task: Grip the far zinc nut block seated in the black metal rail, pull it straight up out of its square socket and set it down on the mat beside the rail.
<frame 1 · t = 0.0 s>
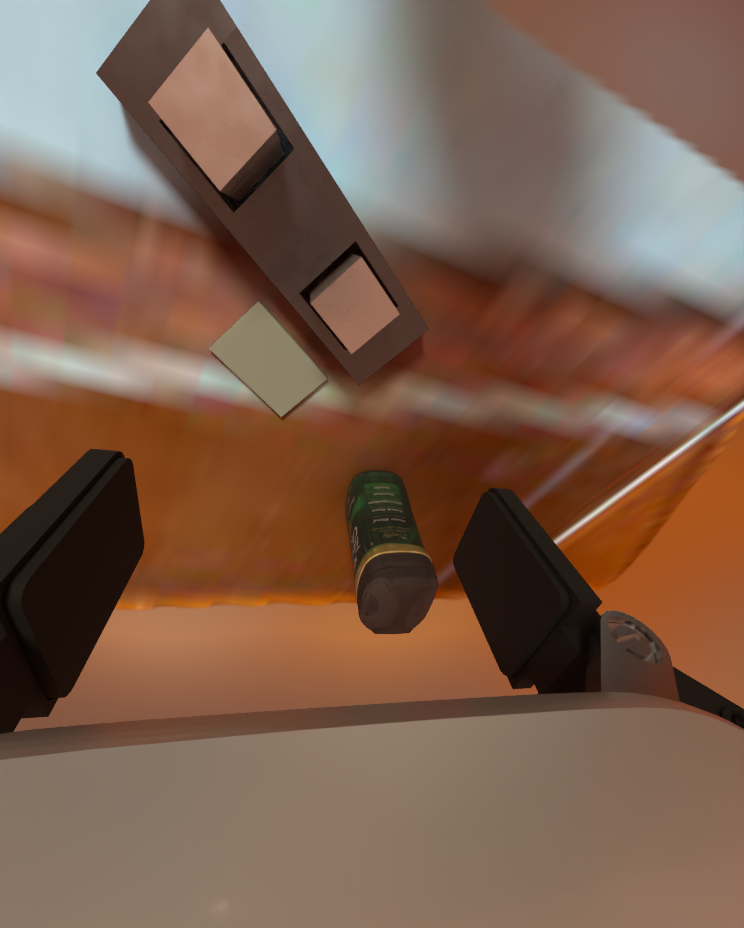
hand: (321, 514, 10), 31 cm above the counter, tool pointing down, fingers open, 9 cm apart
nut b: (347, 295, 35), resting in rail
nut a: (236, 144, 28), resting in rail
coffee jar: (372, 495, 50), on the counter
mat: (271, 362, 38), on the counter
rail: (297, 228, 32), on the counter
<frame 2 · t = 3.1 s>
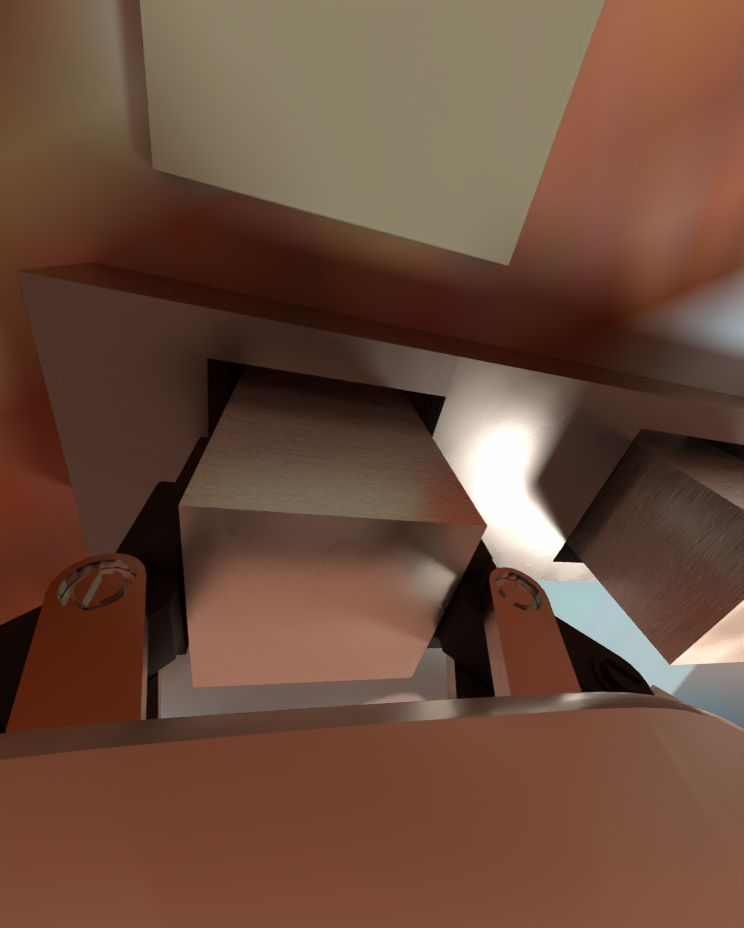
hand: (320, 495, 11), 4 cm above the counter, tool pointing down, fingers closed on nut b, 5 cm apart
nut b: (317, 433, 14), resting in rail, touching gripper
nut a: (604, 468, 17), resting in rail
mat: (376, 54, 9), on the counter
rail: (477, 453, 16), on the counter
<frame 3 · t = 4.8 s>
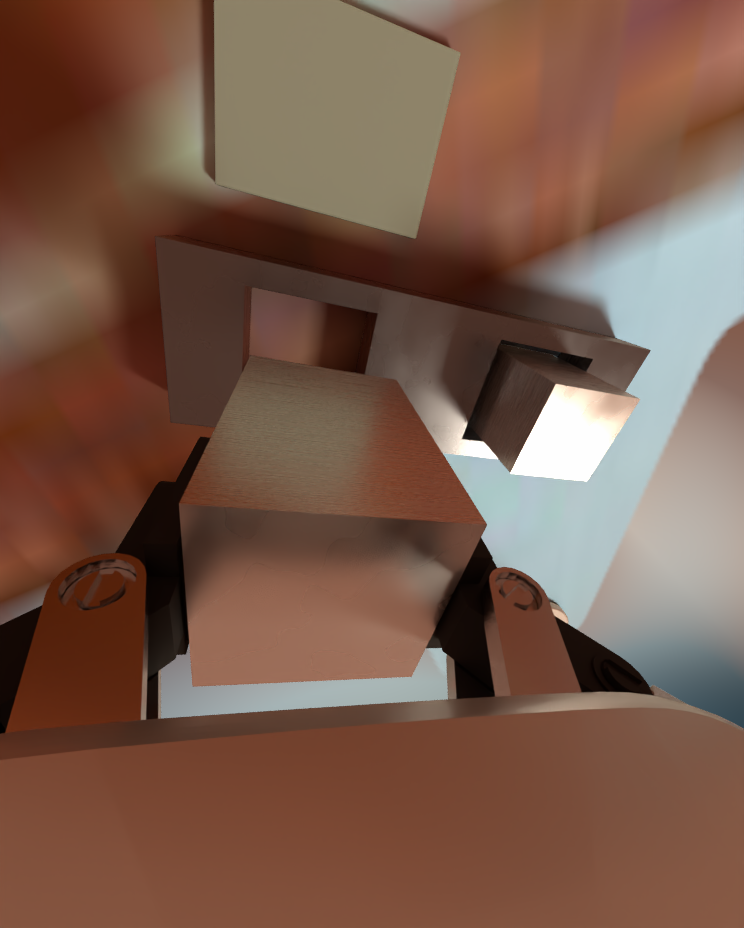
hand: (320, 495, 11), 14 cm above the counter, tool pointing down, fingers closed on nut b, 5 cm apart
nut b: (317, 432, 14), point 10 cm above the counter, touching gripper
nut a: (502, 383, 25), resting in rail
mat: (333, 123, 16), on the counter
rail: (411, 367, 24), on the counter
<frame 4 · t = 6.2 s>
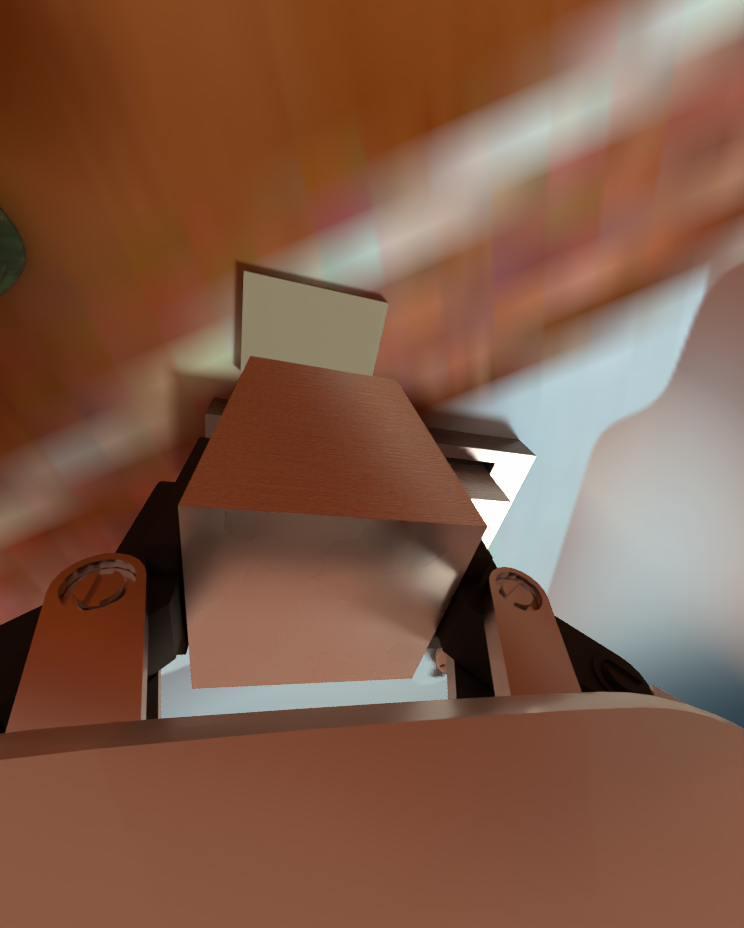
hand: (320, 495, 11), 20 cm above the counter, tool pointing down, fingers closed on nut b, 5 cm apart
nut b: (317, 433, 14), point 16 cm above the counter, touching gripper
nut a: (439, 471, 35), resting in rail
mat: (313, 337, 27), on the counter
rail: (372, 464, 34), on the counter
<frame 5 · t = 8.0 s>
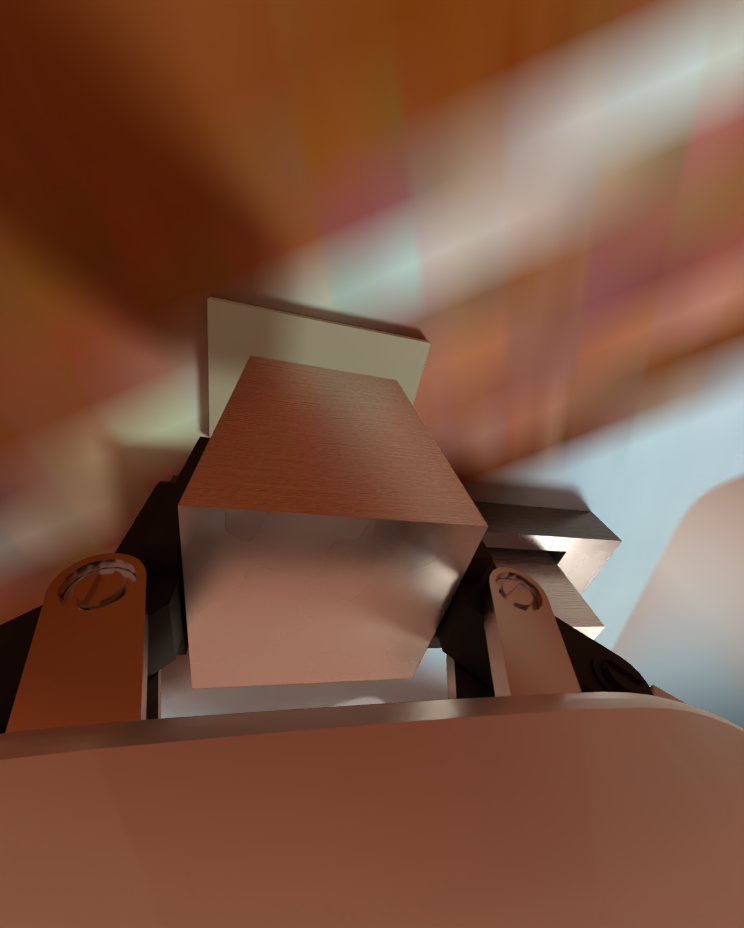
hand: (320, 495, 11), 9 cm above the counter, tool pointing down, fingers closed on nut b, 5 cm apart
nut b: (317, 433, 14), point 5 cm above the counter, touching gripper
nut a: (484, 551, 27), resting in rail
mat: (316, 391, 18), on the counter
rail: (396, 547, 25), on the counter
when the fingers open (6 cm above the counter, at t = 9.5 s): nut b drops 1 cm, resting on mat.
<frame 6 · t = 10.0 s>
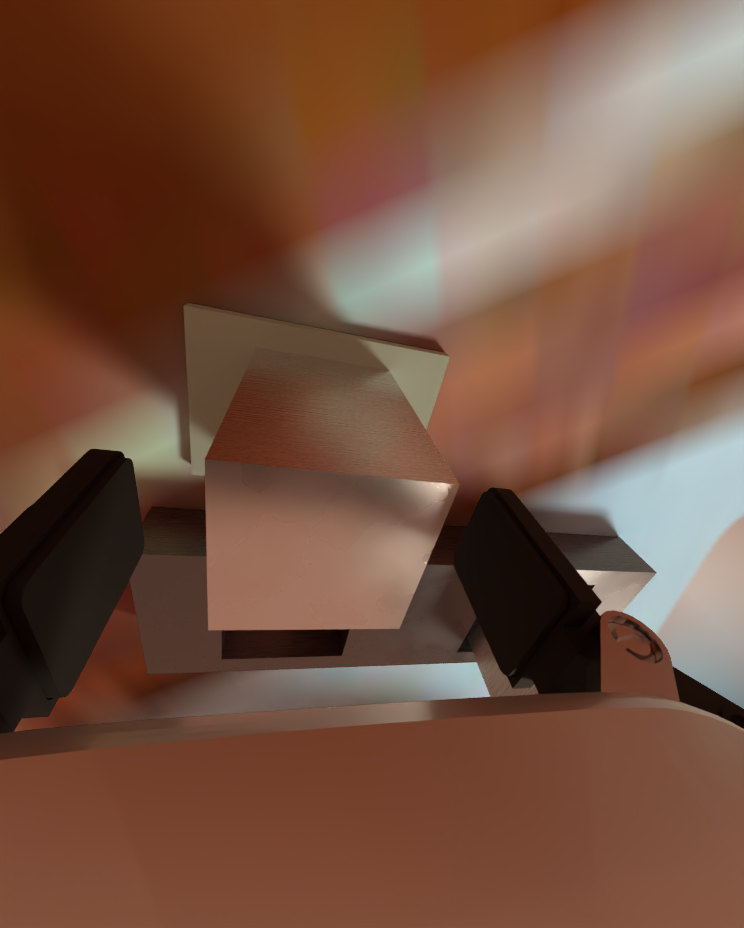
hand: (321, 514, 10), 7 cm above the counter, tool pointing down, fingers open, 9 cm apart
nut b: (316, 419, 15), point 1 cm above the counter, touching mat
nut a: (500, 579, 24), resting in rail
mat: (316, 411, 16), on the counter
rail: (404, 578, 22), on the counter
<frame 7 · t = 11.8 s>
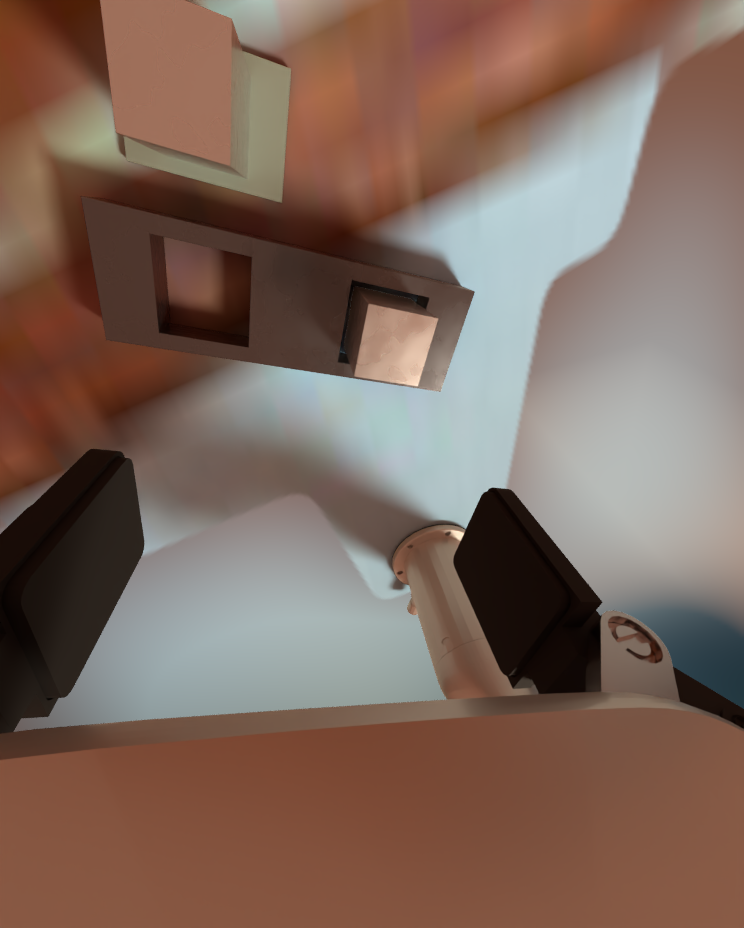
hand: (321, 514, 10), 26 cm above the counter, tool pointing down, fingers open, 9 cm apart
nut b: (207, 117, 23), point 1 cm above the counter, touching mat
nut a: (375, 322, 33), resting in rail
mat: (208, 117, 23), on the counter
rail: (298, 307, 31), on the counter
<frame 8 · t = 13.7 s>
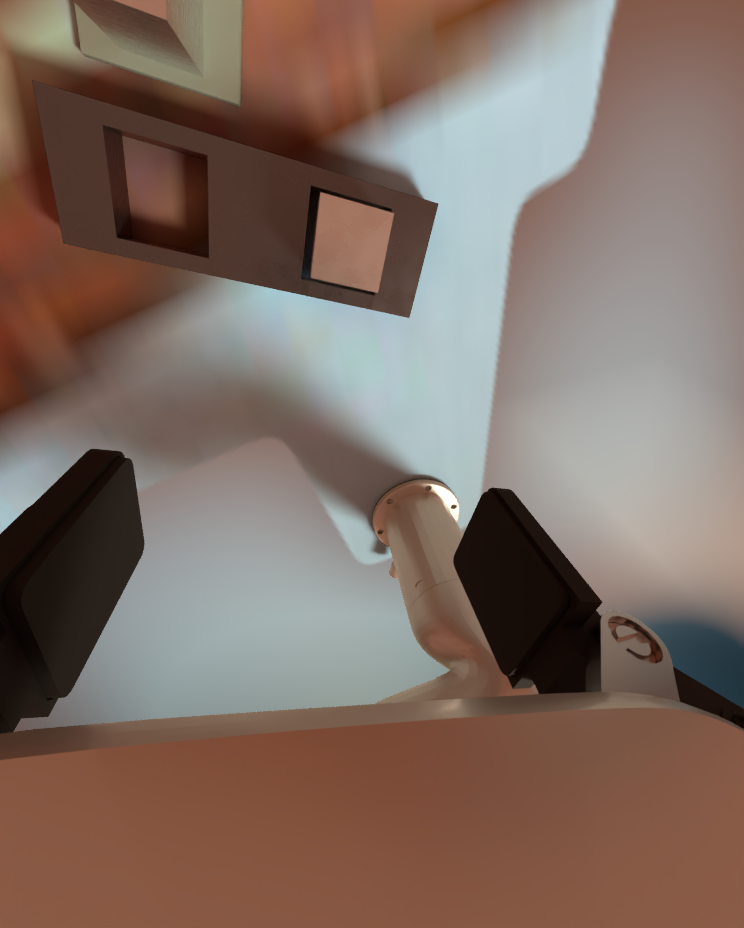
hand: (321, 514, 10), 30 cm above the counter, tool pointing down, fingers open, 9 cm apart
nut b: (160, 8, 23), point 1 cm above the counter, touching mat
nut a: (342, 244, 32), resting in rail
mat: (162, 10, 24), on the counter
rail: (262, 224, 31), on the counter
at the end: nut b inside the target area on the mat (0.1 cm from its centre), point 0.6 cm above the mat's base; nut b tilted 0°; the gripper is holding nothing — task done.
